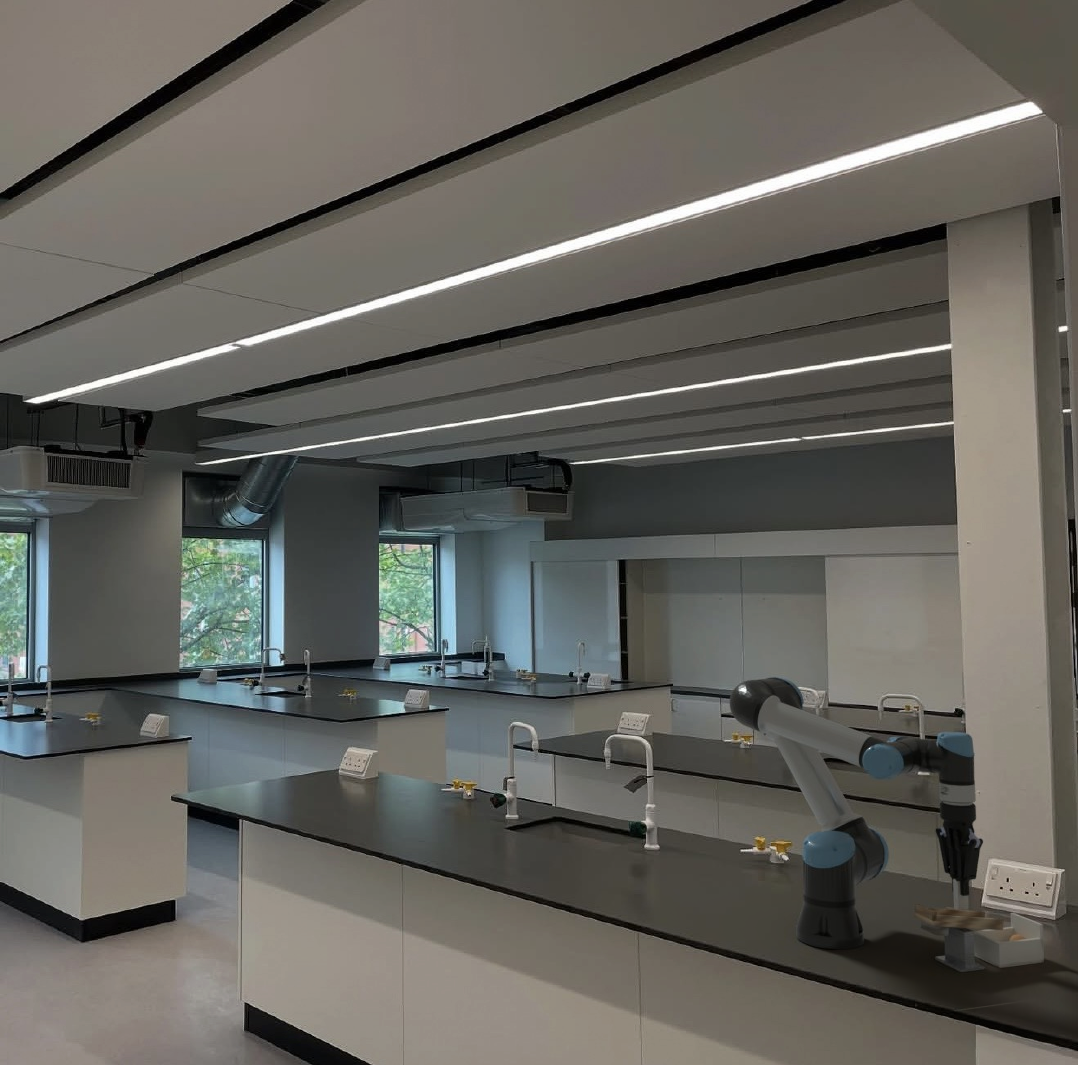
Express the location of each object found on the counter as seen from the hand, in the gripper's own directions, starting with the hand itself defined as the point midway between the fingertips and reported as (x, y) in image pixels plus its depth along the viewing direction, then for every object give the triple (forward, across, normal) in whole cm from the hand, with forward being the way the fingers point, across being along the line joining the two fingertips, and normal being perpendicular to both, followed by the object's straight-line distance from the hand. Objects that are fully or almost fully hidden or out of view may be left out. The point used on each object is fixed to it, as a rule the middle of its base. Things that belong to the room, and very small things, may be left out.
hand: (961, 908), depth 229 cm
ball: (+6, +7, +9) cm, 13 cm away
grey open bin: (+9, +7, +6) cm, 13 cm away
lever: (+2, +4, -7) cm, 8 cm away
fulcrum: (+9, +7, -7) cm, 13 cm away
